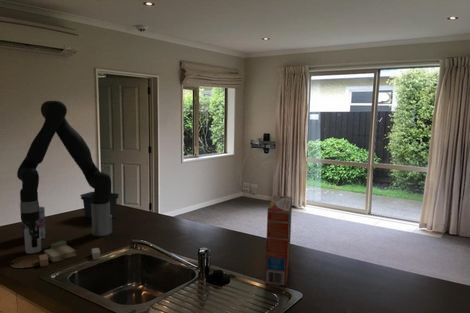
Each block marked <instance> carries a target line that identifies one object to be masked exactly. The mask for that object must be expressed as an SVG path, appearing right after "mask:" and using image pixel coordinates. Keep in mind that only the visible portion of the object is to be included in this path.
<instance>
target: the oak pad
mask: <svg viewBox="0 0 470 313" xmlns="http://www.w3.org/2000/svg"><path fill="white" fill-rule="evenodd" d="M44 254H47V256H48V258H49V259H50V260H51V263H56V262H60V261H64V260H67V259H71V258H73V257H77V250H76V249H74V248H72V247H71V246H69V245H67V244H66V245H63V246H60V247H56V248H52V249H51V248H49V249H45V250H43V255H44ZM49 259H48V260H49ZM50 260H49V261H50Z"/></svg>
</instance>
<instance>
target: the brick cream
mask: <svg viewBox="0 0 470 313" xmlns="http://www.w3.org/2000/svg"><path fill="white" fill-rule="evenodd" d="M91 256H92V259H93V260H98V259H101V250H100V248H99V247H94V248H91Z"/></svg>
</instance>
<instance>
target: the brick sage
mask: <svg viewBox="0 0 470 313" xmlns="http://www.w3.org/2000/svg"><path fill="white" fill-rule="evenodd" d="M63 245H67V241H65V240H59V241H57V242H54V243H51V245H50V249H52V248H56V247H60V246H63Z"/></svg>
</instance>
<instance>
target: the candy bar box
mask: <svg viewBox="0 0 470 313" xmlns="http://www.w3.org/2000/svg"><path fill="white" fill-rule="evenodd" d="M39 214H40V218H39V220H37V221H36V224H37V225H39V228H40V235H41V240H44V239H46V238H47V235H46V234H47V233H46V219H45V218H46V215H45V206H40V205H39ZM21 225H22V226H21V228H22V238H23V239H25V236H24V229H23V222H22V221H21Z"/></svg>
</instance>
